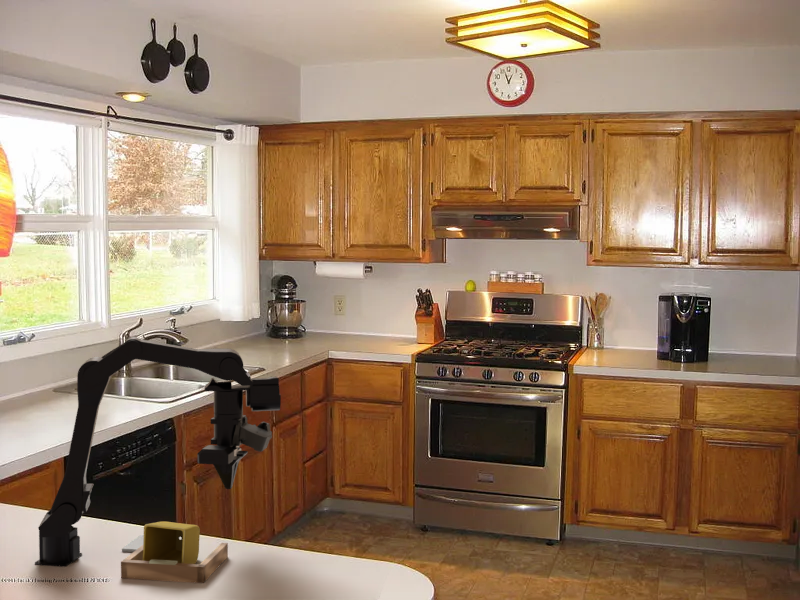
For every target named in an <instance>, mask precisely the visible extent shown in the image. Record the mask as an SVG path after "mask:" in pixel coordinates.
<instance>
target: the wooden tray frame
mask: <svg viewBox="0 0 800 600" xmlns="http://www.w3.org/2000/svg"><path fill="white" fill-rule="evenodd" d="M228 544H229V543H228V542H221V543H220V544H219V545H218V546H217V547H216V548H215V549H214V550H213V551H212V552H211V553H209V555H207V557H205V559H204V560H203V561H201V563H199V564H198V563H195V564H187V563H177V561H170V560H154V559H151V560H150V561H142V560H143V545H142V546H141V547H139V548H138V549H137V550H136V551H134V552H131V553H130V554H129V555H128V556H126V557H125V558H124V559H123V560H121V561H120V578H121V579H129V580H130V579H132V580H144V581H145V580H148V581H160V582H162V581H163V582H179V583H194V582H195V583H199V584H204V583H206V581H208V579H209V578H210V575H211V574H212V573H213V574H214V572H216V570H217V569H218V568H219V567H220V566H221V565H222V564H223V563H224V562H225V561H226V559H228V554H229V553H228V552H229V551H228V550H229V549H228V547H229V545H228ZM224 560H225V561H224ZM223 561H224V562H223ZM222 562H223V563H222ZM221 563H222V564H221ZM220 564H221V565H220ZM219 565H220V566H219ZM218 566H219V567H218ZM216 568H217V569H216ZM213 574H212V575H213ZM212 575H211V576H212Z"/></svg>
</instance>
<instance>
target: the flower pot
mask: <svg viewBox="0 0 800 600" xmlns="http://www.w3.org/2000/svg"><path fill="white" fill-rule="evenodd" d="M200 531H201V529H200V527H199V525H197V524H188V523H179V522H173V521H172V522H171V521H157V522H151V523H146V524H144V526H143V535H144V540H143V560H142V561H150V560H151V559H154V560H170V561H177V563H187V564H197V562H198V559H199V554H200V537H201V536H200V535H201V532H200Z"/></svg>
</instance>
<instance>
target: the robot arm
mask: <svg viewBox="0 0 800 600" xmlns="http://www.w3.org/2000/svg"><path fill="white" fill-rule="evenodd" d="M134 360H140V361H146V362H150V363H151V362H153V363H157V364H165V365H170V366H176V367H181V368H188V369H194V370H197V371H200V372H202V373H205V374H206V375H209V376H211V378H210V380H209V382H207V383H206V384H205V385H204V391H205V392H213V417H211V418H210V424H211V425H213V437H212V438H211V439H210V444H208V445H206V446H204V447H203V448H201V449H200V450H199V451H198V453H197V464H199V465H200V464H201V465H213V467H214V468H215V469H214V470H216V473H217V474H218V476H219V478H220V481H221V483H222V484H223V486H224V489H226V490H231V489H232V488H233V485H234V481H235V477H236V474H237V469H238V466H239V463H240V461H241V460H242V458H244V457H245V456H246V455H247V454H248V452H249V451H247V450H242V447H240V446H241V445H245V446H247V447H249V448H251V449H253V450H254V451H257V452H260V453H261V452H263V451H264V450H265V449H267V448H268V445H269V444H270V441H271V439H272V438H273V431H271V425H270V423H269V422H266V421H261V422H260V423H259V424H258V425H256V424H251V423H248V417H247V415H246V414H244V391H245V407H249V408H250V409H251V412H267V411H269V412H270V411H274V412H275V411H280V410H281V404H282V403H281V402H282V401H281V400H282V398H281V392H280V385H279V382H280V379H279V377H278V376H270V377H252V378H251V374H250V373H249V372H247V371H246V370H245V368H244V361H243V358H242V356H241V355H240V353H239V352H238V351H237V350H235V349H233V348H193V347H186V346H181V345H176V344H168V343H163V342H158V341H153V340H146V339H141V338H139V337H135V336H133V337H129V338H127V339H126V340H125V341H124V342H123V343H121V344H120V345H118V346H117V347H115V348H113V349H112V350H110V351H109V352H107V353H106V354H104V355H102V356H94V357H93V356H92V357H89V358H88V359H87V360H85V362H84V363H83V364H82V365H80V367H79V369H78V370H77V375H76V376H77V377H76V378H77V379H76V380H77V382H76V387H77V388H76V389H77V392H76V393H77V405H78V406H77V411H76V414H75V415H76V416H75V421H74V426H73V431H72V437H71V440H70V442H71V443H70V445H69V451H68V456H67V462H66V467H65V471H64V472H65V473H64V476H63V479H62V481H61V483H60V486H59V488H58V490H57V492H56V496H55V498H54V500H53V503H52V505H51V508H50V509H49V510H48V511H47V512H46V513H45V515H44V516H43V518H42V520H41V522H40V524H39V525H38V527H37V528H38V547H39V550H38V552H39V553H38V554H39V555H38V556H39V557H38V558H39V559H38V560H36V561H35V562H34V565H35V566H44V567H46V566H47V567H60V568H61V567H62V568H63V567H64V568H65V567H68V566H69V565H70V564H73V562H75V561H76V560H78V559H79V558H81V557H82V556H83V553H82V552H81V546H80V545H81V536H79V535H78V527H76V526H75V527H74V526H73V525H75V524H77V523H78V522H79V521H80V520H81V518H82V517H83V514H86V513H87V511H88V509H89V507H90V504H91V499H90V497H91V493H92V489H93V487H94V483H87V469H88V465H89V459H90V453H91V449H92V444H93V440H94V433H95V429H96V424H97V419H98V414H99V409H100V405H101V402H102V400H103V397H104V395H105V393H106V390H107V388H108V385H109V384H110V381H111V378H112V376H113V375H114V374H115V373H117V372H119V371H120V370H121V369H122V368H124V367H126V366H127V365H128V364H129V363H131V362H133V361H134ZM215 378H216V379H217V378H218V379H220V380H223V381H217V380H216V379H215ZM232 381H234V382H235V383H237V384H238V385H237V384H236V385H233V384H232Z"/></svg>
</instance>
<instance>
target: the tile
mask: <svg viewBox="0 0 800 600" xmlns="http://www.w3.org/2000/svg"><path fill="white" fill-rule="evenodd" d="M143 540H144V534H143V535H138V536H137V537H136V538H134V539H133V540H131V541H130V542H129V543H127V544H126V545H124V546H123V547H122V548H121V552H122V553H123V552H124V553H133V552H134V551H136V550H137V549H138V548H139V547H141V546H142V545H143Z"/></svg>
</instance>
